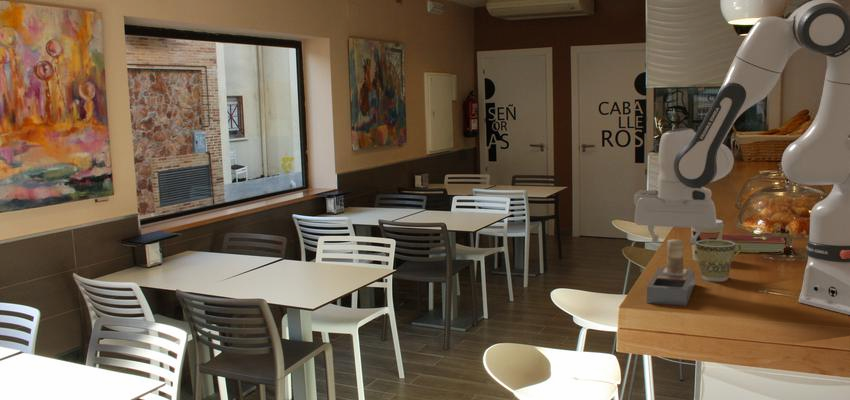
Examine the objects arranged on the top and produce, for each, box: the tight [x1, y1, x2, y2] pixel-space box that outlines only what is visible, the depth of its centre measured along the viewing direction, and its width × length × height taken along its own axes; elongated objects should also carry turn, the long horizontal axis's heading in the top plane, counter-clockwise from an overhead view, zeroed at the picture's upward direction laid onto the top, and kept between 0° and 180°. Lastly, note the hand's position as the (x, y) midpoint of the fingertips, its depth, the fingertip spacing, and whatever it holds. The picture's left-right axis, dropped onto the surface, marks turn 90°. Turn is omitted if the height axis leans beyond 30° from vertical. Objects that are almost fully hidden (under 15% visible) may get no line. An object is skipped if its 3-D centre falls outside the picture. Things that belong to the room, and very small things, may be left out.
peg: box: [666, 239, 684, 273], centre depth 201 cm, size 4×4×8 cm
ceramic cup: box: [696, 240, 741, 283], centre depth 209 cm, size 13×10×10 cm
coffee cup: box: [690, 218, 724, 263], centre depth 232 cm, size 9×9×12 cm
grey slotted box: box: [646, 267, 696, 307], centre depth 195 cm, size 22×9×4 cm, turn 156°
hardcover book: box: [722, 233, 786, 253], centre depth 247 cm, size 12×21×4 cm, turn 71°
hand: (674, 243), depth 200 cm, fingers open, 8 cm apart
